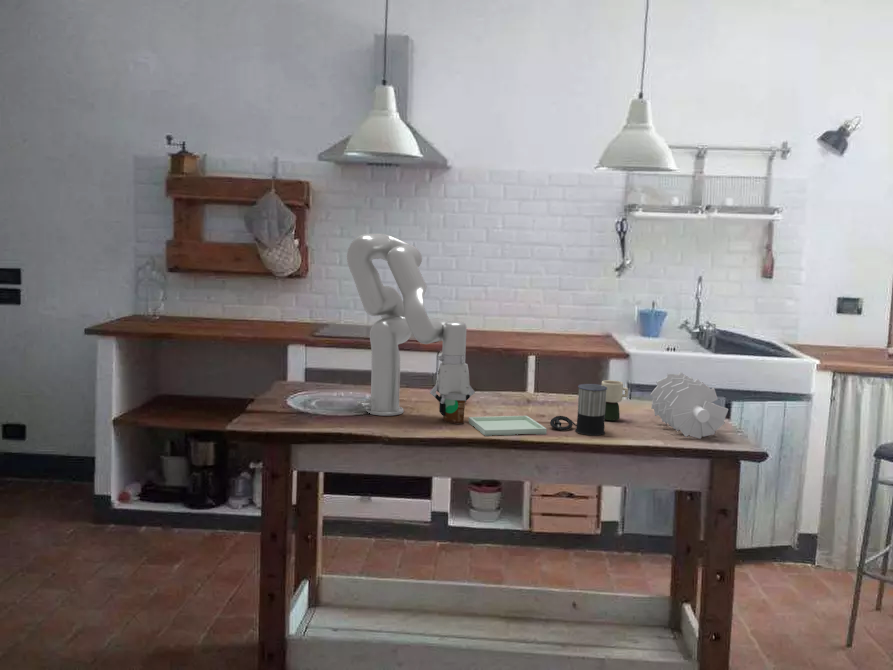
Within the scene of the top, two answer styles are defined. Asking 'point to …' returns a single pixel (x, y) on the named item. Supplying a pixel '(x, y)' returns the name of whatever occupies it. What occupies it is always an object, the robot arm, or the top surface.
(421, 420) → the top surface
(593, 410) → the milk frother
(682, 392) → the spiral staircase
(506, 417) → the tray
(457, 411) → the food container
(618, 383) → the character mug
